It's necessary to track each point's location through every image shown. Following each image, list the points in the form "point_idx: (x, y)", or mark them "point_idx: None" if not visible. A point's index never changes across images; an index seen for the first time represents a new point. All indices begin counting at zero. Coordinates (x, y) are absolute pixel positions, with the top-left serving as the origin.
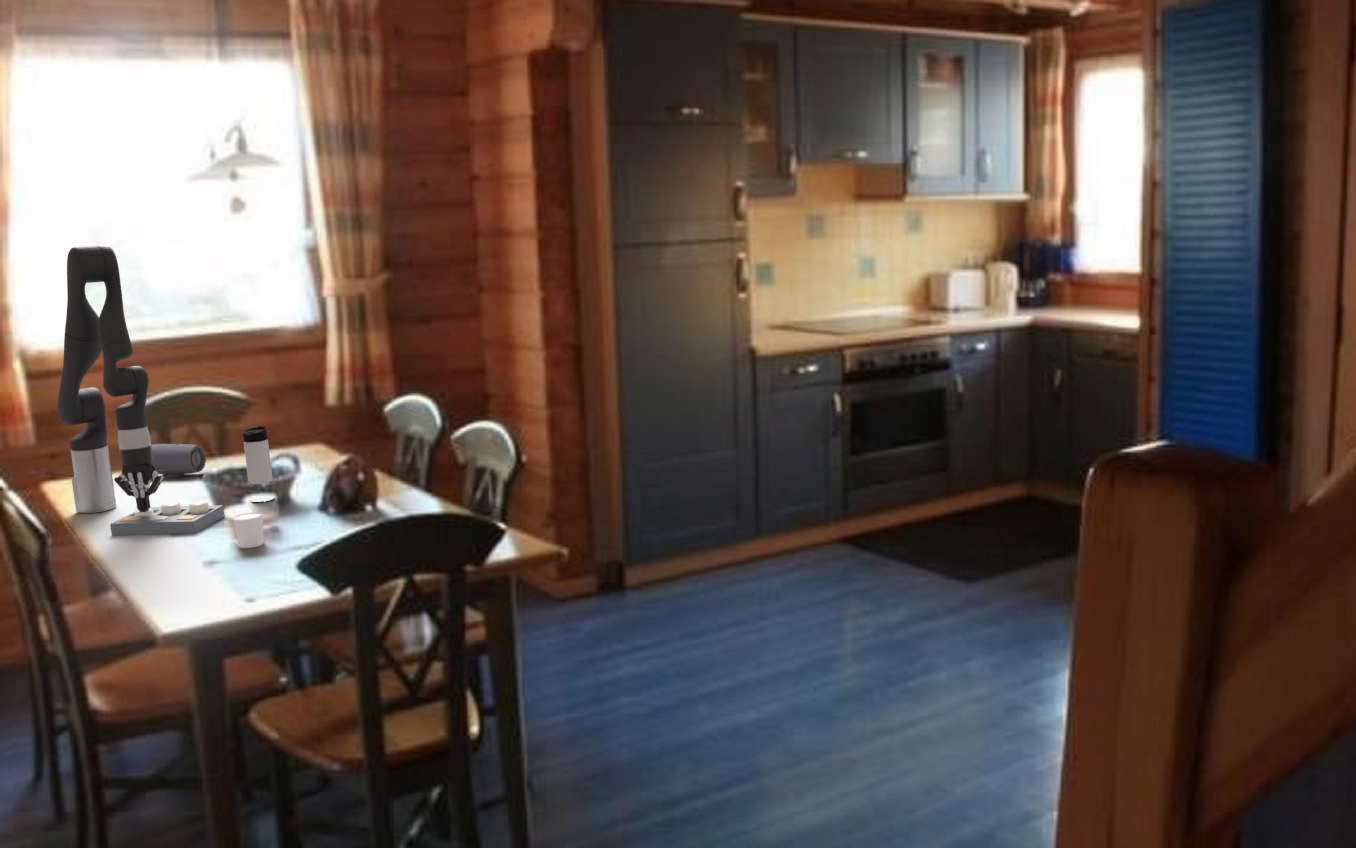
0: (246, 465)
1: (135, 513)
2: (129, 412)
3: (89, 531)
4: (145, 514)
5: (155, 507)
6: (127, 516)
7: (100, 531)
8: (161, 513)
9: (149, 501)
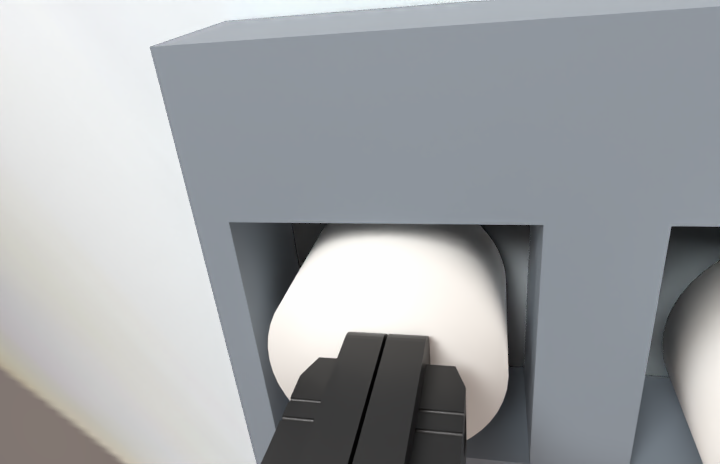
0: None
1: None
2: None
3: (56, 393)
4: None
5: (362, 48)
6: None
7: (141, 408)
8: (644, 355)
9: (462, 457)
